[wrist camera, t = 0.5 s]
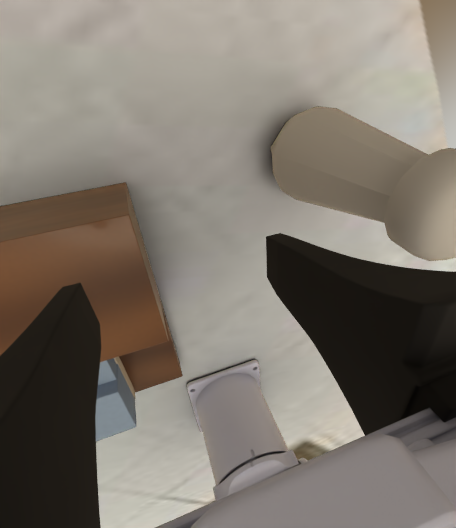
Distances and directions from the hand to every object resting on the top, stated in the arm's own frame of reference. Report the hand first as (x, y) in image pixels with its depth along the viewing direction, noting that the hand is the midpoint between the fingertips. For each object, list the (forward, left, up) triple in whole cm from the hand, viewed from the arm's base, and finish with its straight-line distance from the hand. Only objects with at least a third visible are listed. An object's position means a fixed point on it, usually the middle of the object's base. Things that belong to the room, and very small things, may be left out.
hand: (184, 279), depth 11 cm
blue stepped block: (-12, +8, -8) cm, 17 cm away
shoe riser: (-8, +8, -10) cm, 15 cm away
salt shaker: (+1, -10, -10) cm, 15 cm away
